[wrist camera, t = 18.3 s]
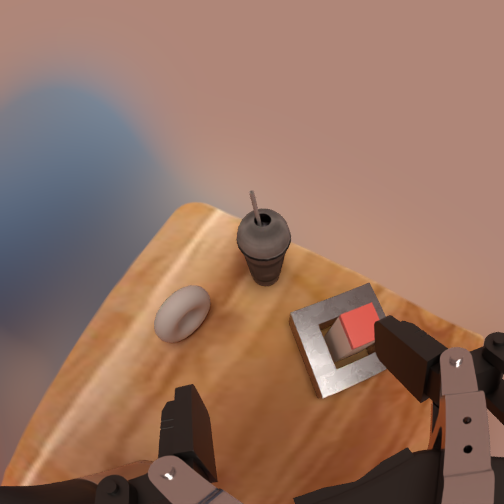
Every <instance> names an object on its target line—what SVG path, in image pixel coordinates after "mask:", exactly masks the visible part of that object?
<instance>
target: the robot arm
mask: <svg viewBox="0 0 504 504" xmlns="http://www.w3.org/2000/svg"><path fill="white" fill-rule="evenodd" d="M374 338H375V352H376V355H377V358H378V359H379V361H380V362H381V363H382V364H383V365H384V366H385V367H386V368H387V369H388V370H389V371H390V372H391V373H392V374H393V375H394V376H395V377H396V378H397V379H398V380H399V381H400V382H401V383H402V384H403V385H404V386H405V387H406V389H407V390H408V391H409V392H410V393H411V394H412V395H413V396H414V397H415V398H416V399H417V400H418V401H419V402H420V403H422V402H423V401H425V400H427V399H428V398H430V399H431V400H432V404H431V425H430V439H429V445H428V449H427V450H422V451H417V452H413V453H412V452H411V451H410V450H409V449H408V447H407V448H405V449H404V450H402V451H400V452H399V453H397V454H395V455H393V456H391V457H390V458H388V459H386V460H384V461H382V462H381V463H380V464H379V465H377V466H376V467H375V468H374V469H372V470H371V471H370V472H368V473H367V474H366V475H365V476H363V477H362V478H361V479H359V480H357V481H355V482H351V483H346V484H341V485H336V486H331V487H325V488H322V489H319V490H316V491H313V492H310V493H308V494H305V495H302V496H298V497H295V498H293V499H294V502H295V504H504V457H491V456H490V437H489V425H488V416H487V409H488V410H489V411H490V412H491V413H492V414H493V415H494V416H495V417H496V418H497V419H498V420H499V421H500V422H501V423H502V424H503V425H504V380H503V379H502V377H503V374H504V333H500V332H496V333H492V334H489V335H488V336H487V337H486V338H485V342H484V346H483V347H481V348H478V349H476V350H473V351H470V352H469V351H468V350H466V349H464V348H460V347H454V348H449V349H448V348H446V347H445V346H444V345H442V344H441V343H440V342H438V341H437V340H435V339H434V338H433V337H431V336H430V335H427V333H426V332H424V331H423V330H421V329H420V328H419V327H417V326H416V325H414V324H413V323H409V322H406V321H401V322H400V321H398V320H397V319H396V318H394V317H393V316H391V315H389V316H387V317H384V318H382V319H380V320H378V321H376V322H375V323H374ZM160 428H161V430H160V440H159V455H158V459H157V460H155V461H154V462H152V461H145V460H143V461H137V462H134V463H131V464H128V465H124V466H121V467H118V468H114V469H111V470H107V471H104V472H100V473H96V474H92V475H88V476H84V477H80V478H76V479H72V480H67V481H62V482H57V483H51V484H45V485H37V486H0V504H243V503H242V502H240V501H239V500H237V499H236V498H234V497H233V496H231V495H230V494H228V493H227V492H225V491H224V490H222V489H218V488H216V487H215V486H213V485H212V484H211V483H213V482H218V480H217V473H216V466H215V458H214V450H213V441H212V432H211V423H210V417H209V414H208V411H207V409H206V407H205V405H204V403H203V401H202V399H201V397H200V395H199V393H198V392H197V390H196V388H195V386H194V385H193V384H191V385H186V386H182V387H178V388H176V389H175V400H174V401H169V402H167V403H166V405H165V407H164V408H163V410H162V415H161V427H160Z"/></svg>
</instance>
